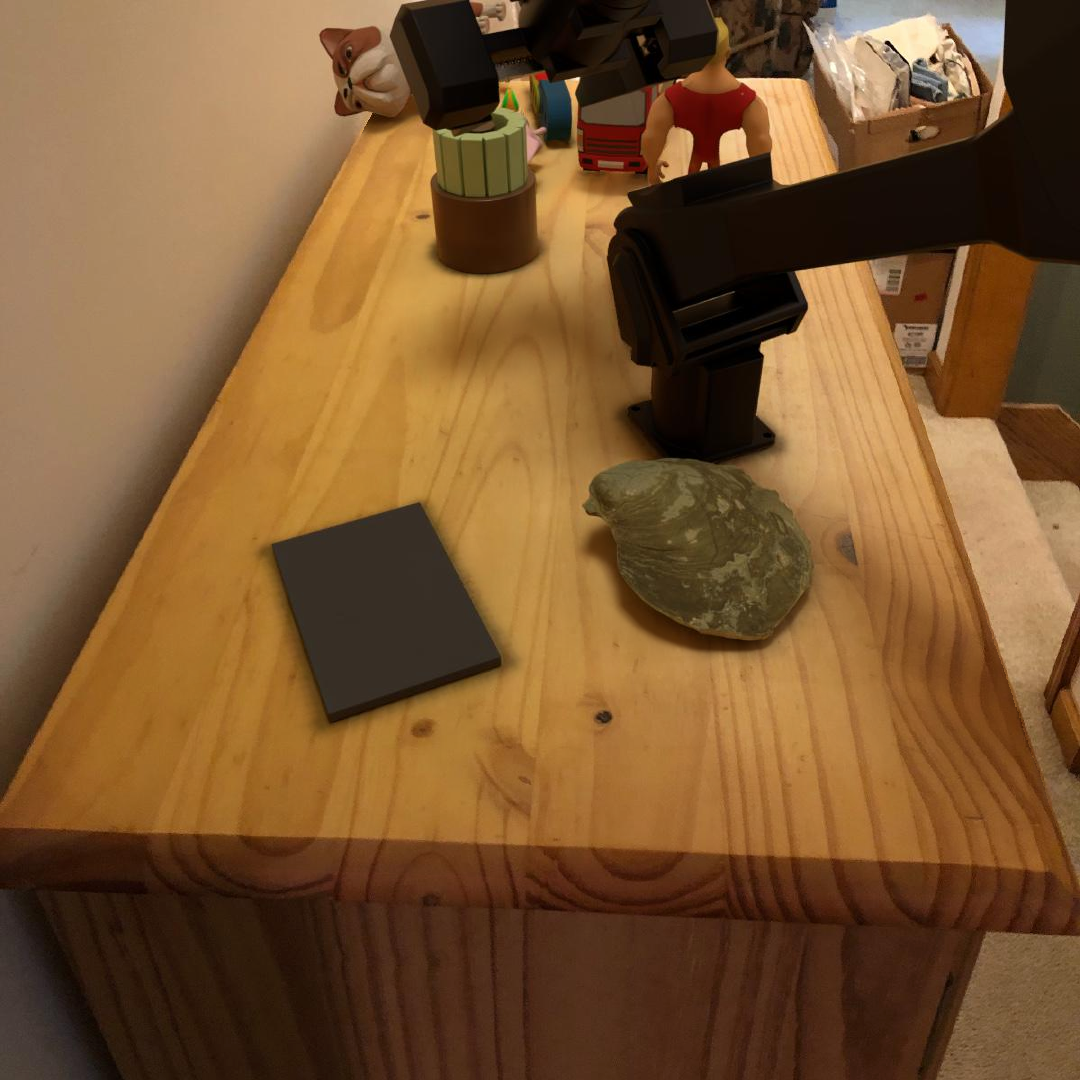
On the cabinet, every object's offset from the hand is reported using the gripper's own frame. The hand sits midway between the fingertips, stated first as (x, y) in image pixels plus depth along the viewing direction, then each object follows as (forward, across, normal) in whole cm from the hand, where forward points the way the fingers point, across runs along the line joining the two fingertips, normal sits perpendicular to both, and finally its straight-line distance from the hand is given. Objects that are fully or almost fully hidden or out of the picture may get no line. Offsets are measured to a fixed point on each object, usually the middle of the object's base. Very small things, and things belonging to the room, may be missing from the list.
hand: (517, 114), depth 65 cm
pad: (-9, +21, +26) cm, 35 cm away
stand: (+12, 0, +4) cm, 13 cm away
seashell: (-13, +7, +30) cm, 33 cm away
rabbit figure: (+22, -9, -5) cm, 24 cm away
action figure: (+9, -16, +8) cm, 20 cm away
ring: (+9, 0, 0) cm, 9 cm away
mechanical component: (+27, -16, -13) cm, 34 cm away
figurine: (+28, -15, -18) cm, 37 cm away
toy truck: (+20, -20, -4) cm, 29 cm away
